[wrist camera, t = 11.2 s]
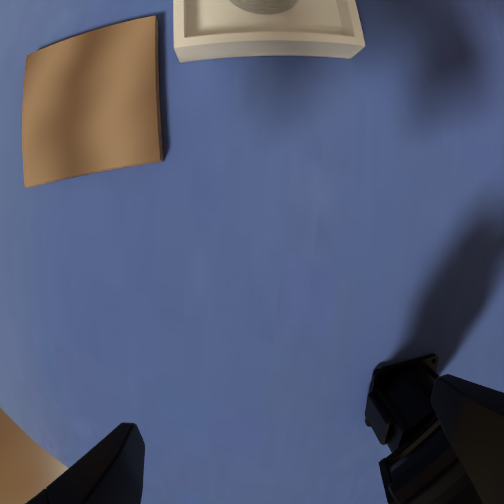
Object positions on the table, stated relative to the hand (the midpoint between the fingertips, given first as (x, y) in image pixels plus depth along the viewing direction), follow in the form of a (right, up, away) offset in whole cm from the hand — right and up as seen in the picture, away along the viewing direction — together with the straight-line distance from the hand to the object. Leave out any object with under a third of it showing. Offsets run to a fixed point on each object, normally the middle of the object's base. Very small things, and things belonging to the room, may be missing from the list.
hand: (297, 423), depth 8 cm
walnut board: (-12, +15, +9) cm, 21 cm away
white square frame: (-1, +22, +8) cm, 24 cm away
